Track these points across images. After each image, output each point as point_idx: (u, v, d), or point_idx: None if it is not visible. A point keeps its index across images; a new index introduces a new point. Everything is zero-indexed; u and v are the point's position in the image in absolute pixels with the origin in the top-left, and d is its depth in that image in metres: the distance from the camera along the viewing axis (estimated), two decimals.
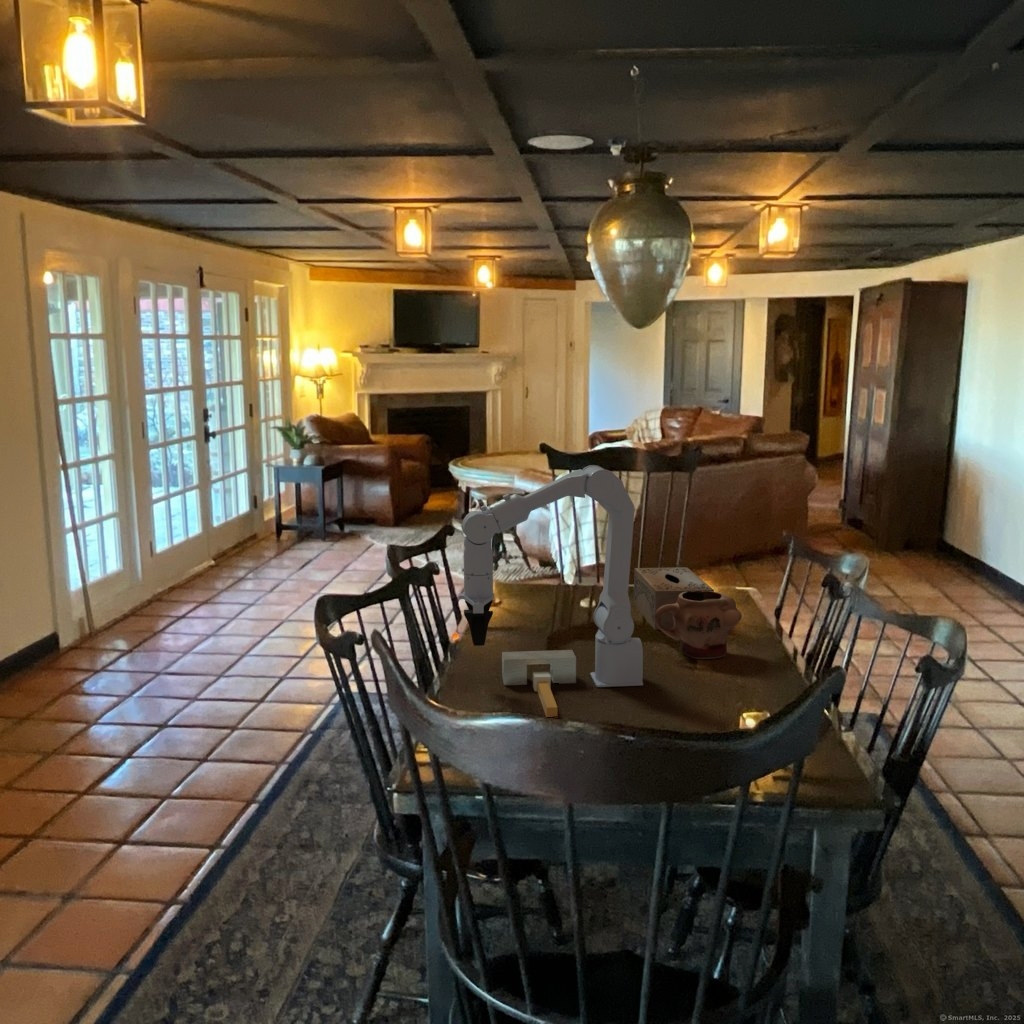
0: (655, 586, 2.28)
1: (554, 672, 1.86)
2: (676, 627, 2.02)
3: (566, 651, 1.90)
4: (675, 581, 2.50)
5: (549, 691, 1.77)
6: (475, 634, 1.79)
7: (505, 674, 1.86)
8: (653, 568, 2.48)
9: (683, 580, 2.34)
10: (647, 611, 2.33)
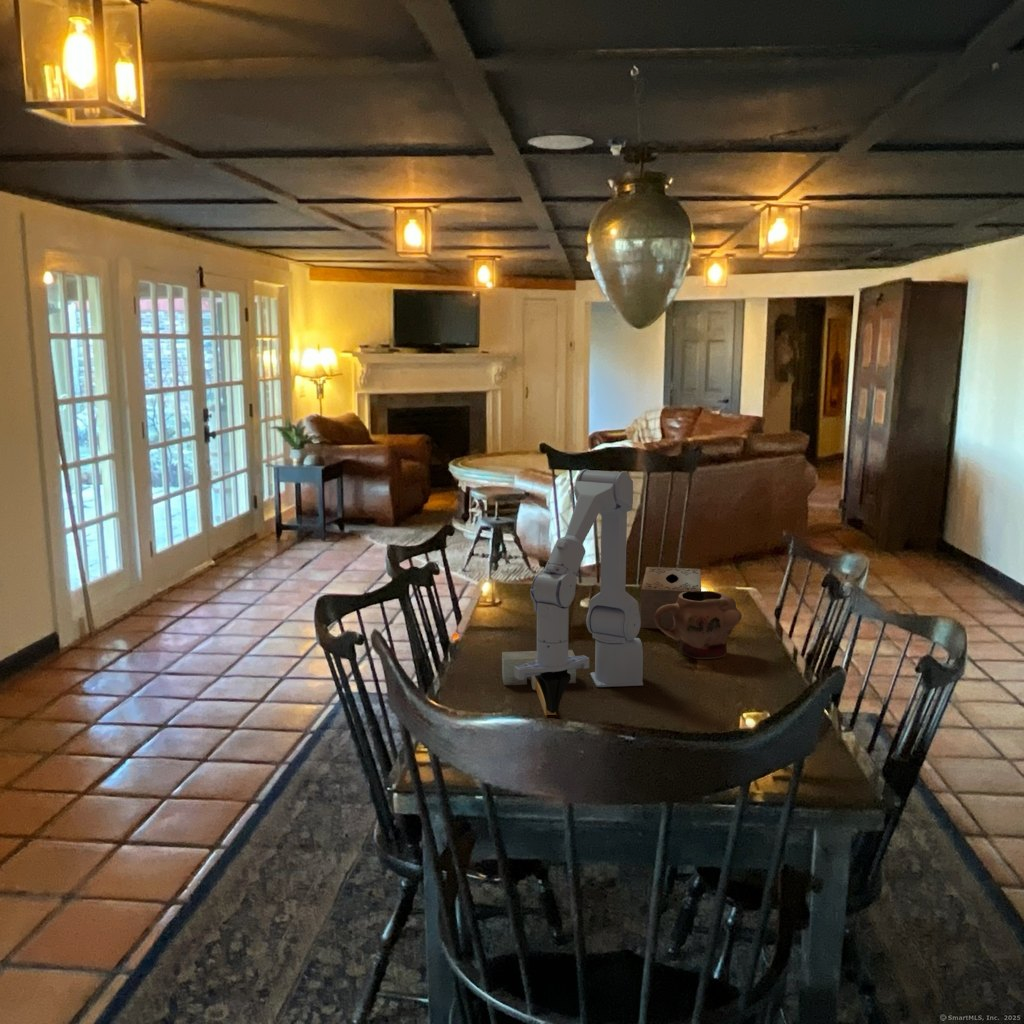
0: (646, 584, 2.30)
1: None
2: (676, 627, 2.02)
3: None
4: None
5: None
6: (546, 698, 1.68)
7: (505, 674, 1.86)
8: (665, 568, 2.48)
9: (681, 580, 2.34)
10: None
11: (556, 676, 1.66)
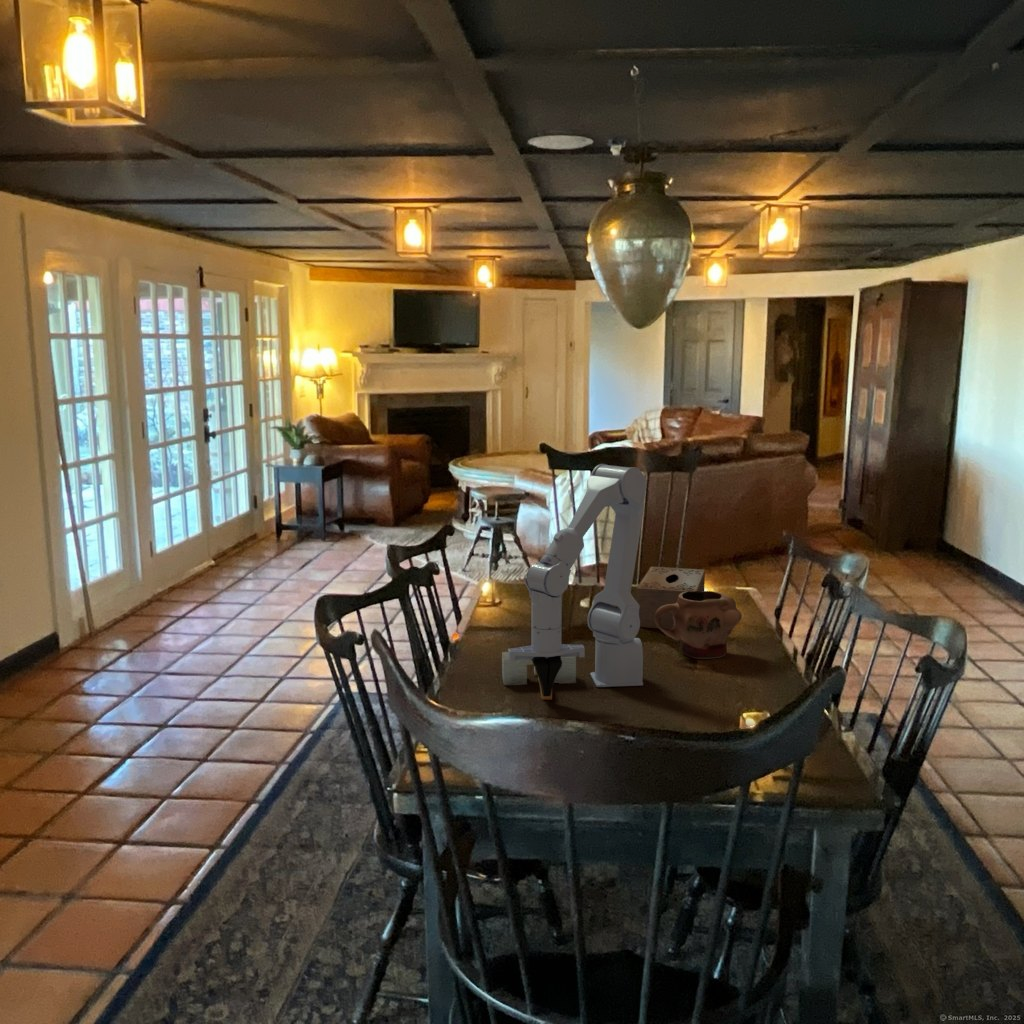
0: (643, 584, 2.30)
1: None
2: (676, 627, 2.02)
3: None
4: None
5: None
6: (541, 682, 1.77)
7: (505, 674, 1.86)
8: (669, 568, 2.48)
9: (680, 581, 2.33)
10: None
11: (548, 661, 1.74)
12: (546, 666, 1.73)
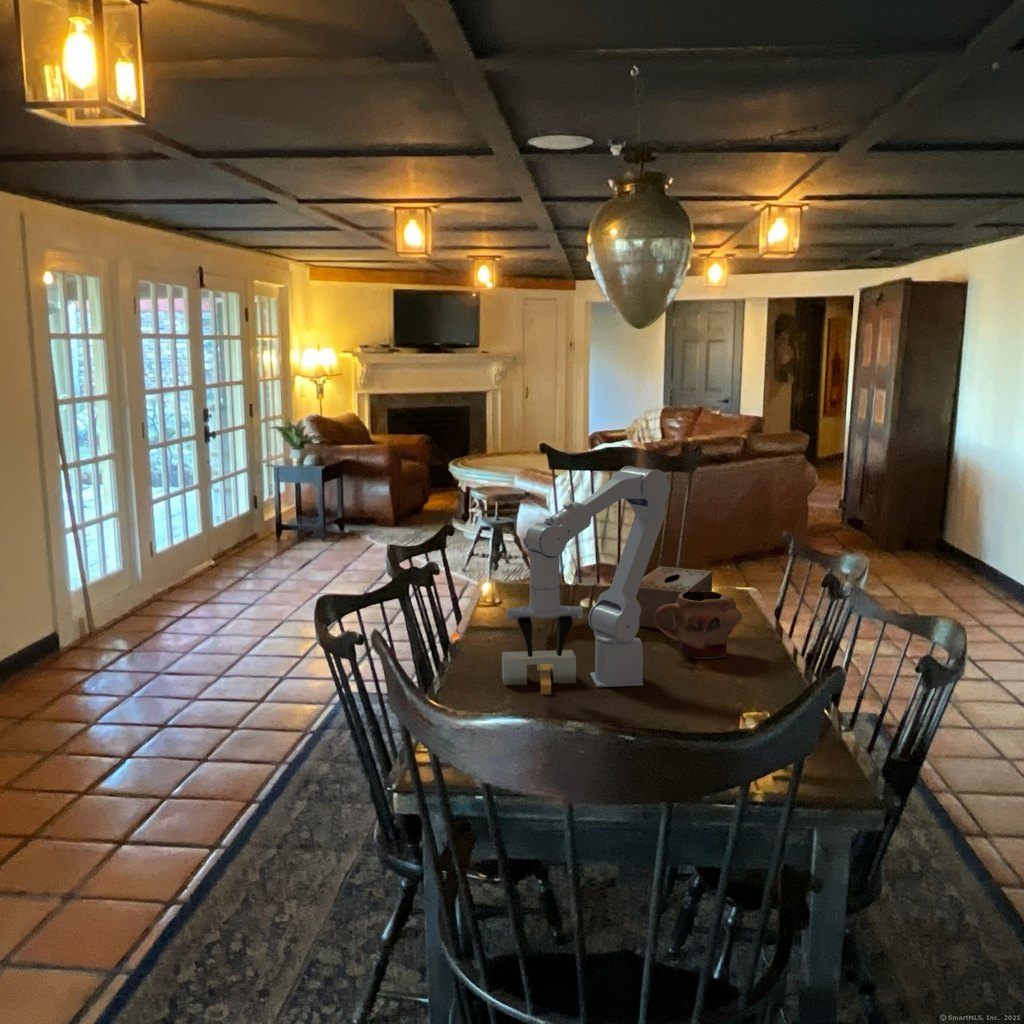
0: None
1: (554, 672, 1.86)
2: (676, 627, 2.02)
3: (566, 651, 1.90)
4: None
5: (548, 670, 1.89)
6: (527, 642, 1.78)
7: (505, 674, 1.86)
8: (677, 568, 2.48)
9: (678, 581, 2.33)
10: None
11: (559, 621, 1.76)
12: (530, 626, 1.74)
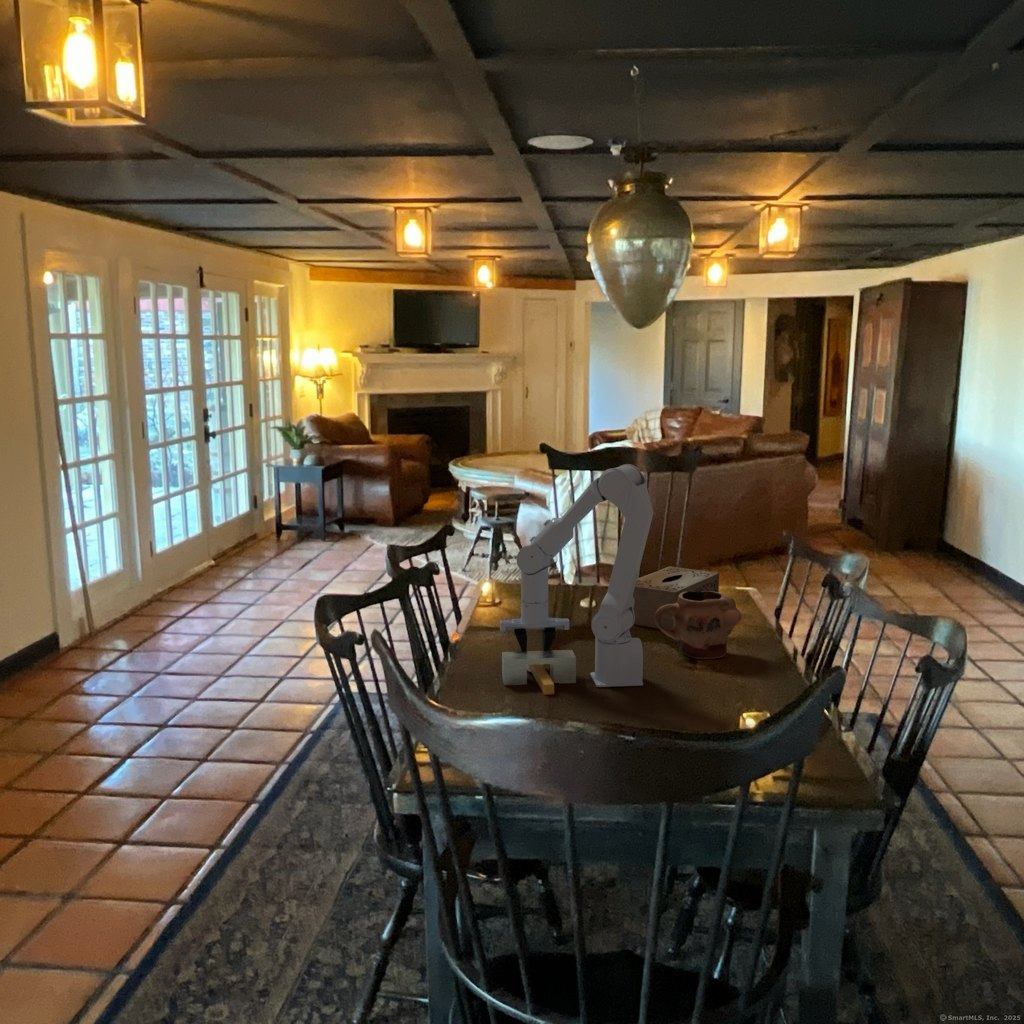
0: None
1: (554, 672, 1.86)
2: (676, 627, 2.02)
3: (566, 651, 1.90)
4: None
5: (544, 670, 1.89)
6: None
7: (505, 674, 1.86)
8: (685, 569, 2.47)
9: (676, 581, 2.33)
10: None
11: (544, 632, 1.94)
12: (525, 637, 1.92)
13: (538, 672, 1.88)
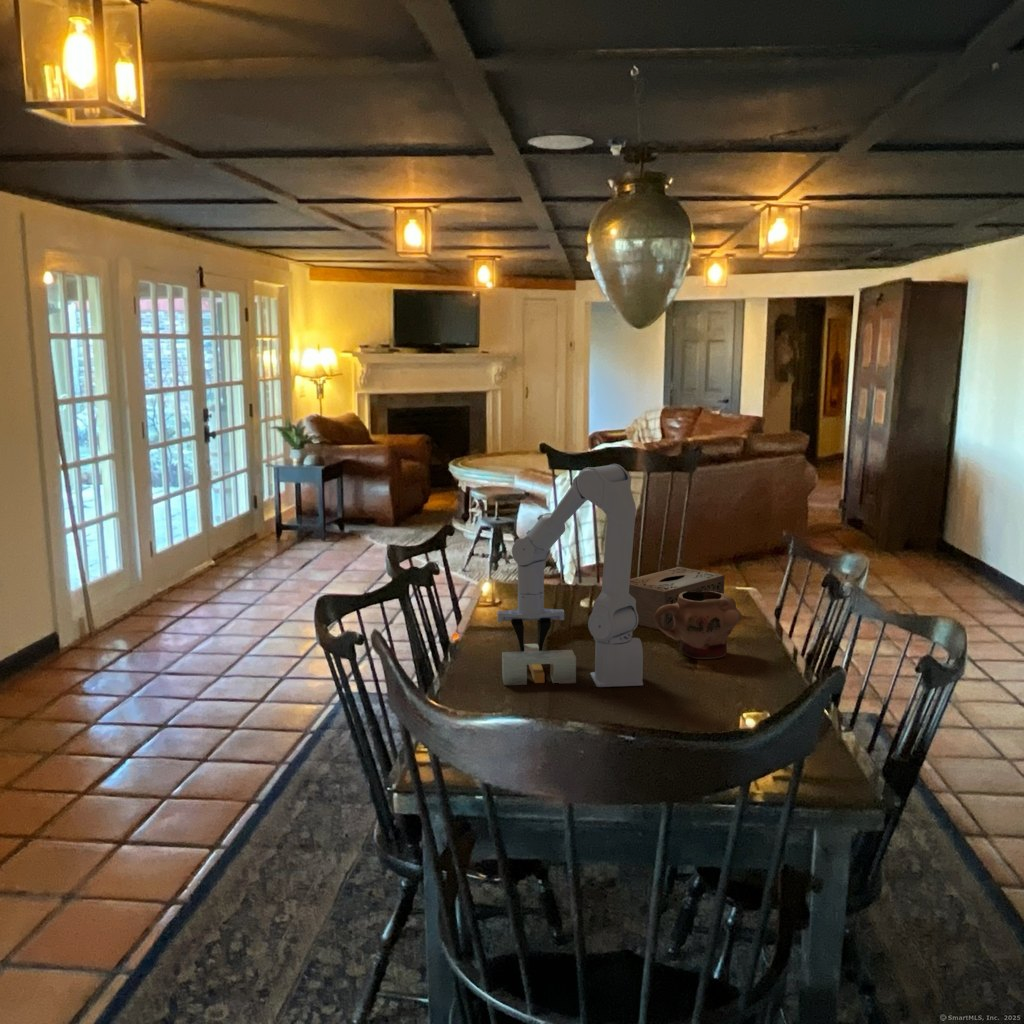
0: (632, 579, 2.35)
1: (554, 672, 1.86)
2: (676, 627, 2.02)
3: (566, 651, 1.90)
4: None
5: None
6: None
7: (505, 674, 1.86)
8: (692, 570, 2.46)
9: (673, 581, 2.33)
10: None
11: (539, 623, 2.00)
12: (522, 627, 1.99)
13: None
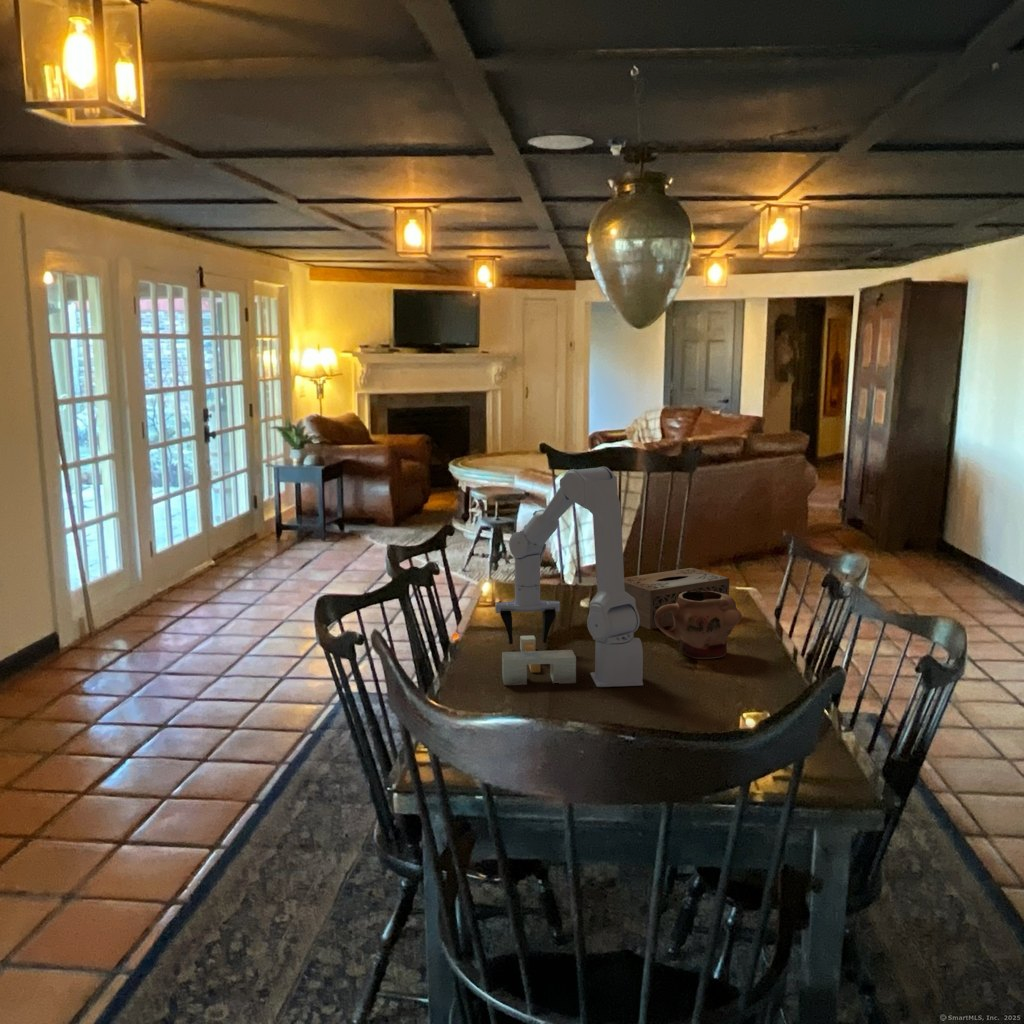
0: (631, 577, 2.37)
1: (554, 672, 1.86)
2: (676, 627, 2.02)
3: (566, 651, 1.90)
4: None
5: None
6: (508, 632, 2.09)
7: (505, 674, 1.86)
8: (702, 571, 2.44)
9: (670, 581, 2.33)
10: None
11: (544, 614, 2.07)
12: (510, 618, 2.05)
13: None
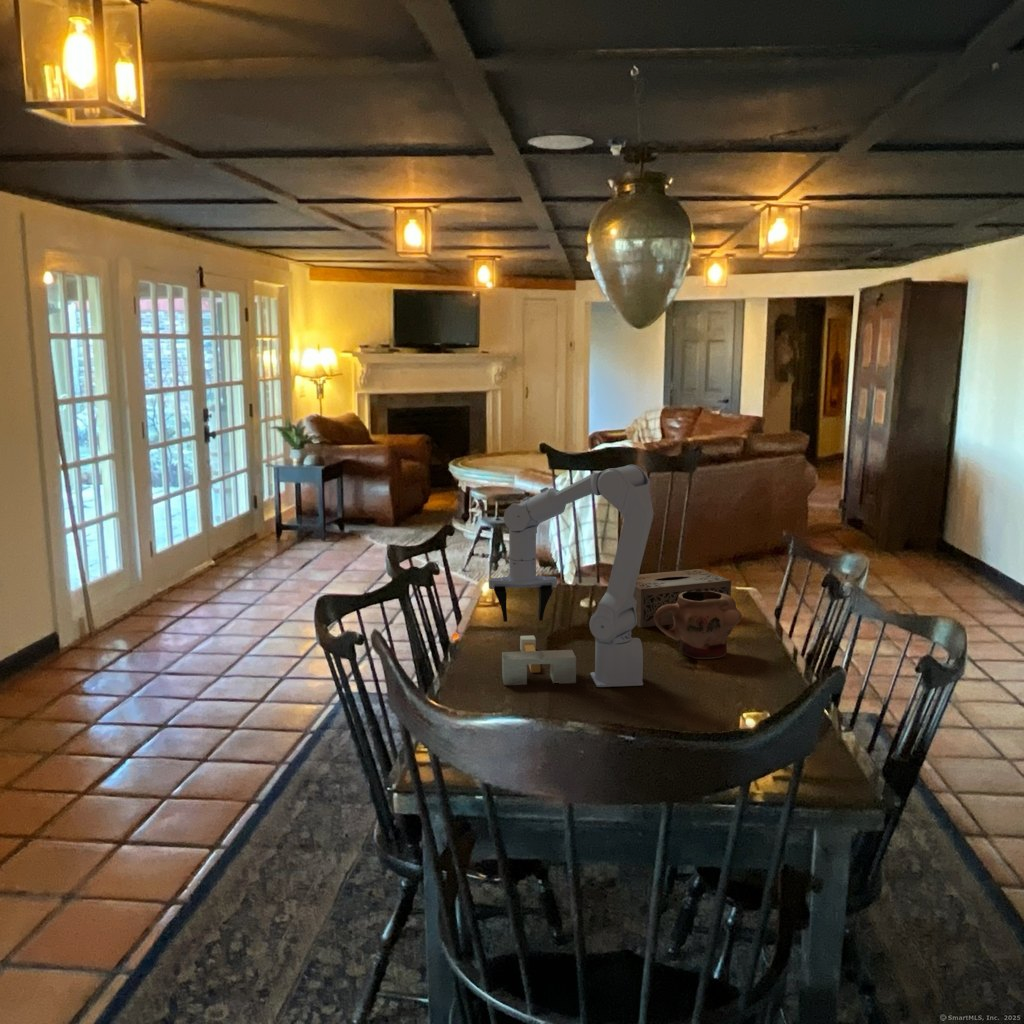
0: None
1: (554, 672, 1.86)
2: (676, 627, 2.02)
3: (566, 651, 1.90)
4: None
5: None
6: None
7: (505, 674, 1.86)
8: (708, 573, 2.42)
9: (668, 581, 2.33)
10: None
11: (540, 590, 1.97)
12: (504, 594, 1.95)
13: None
